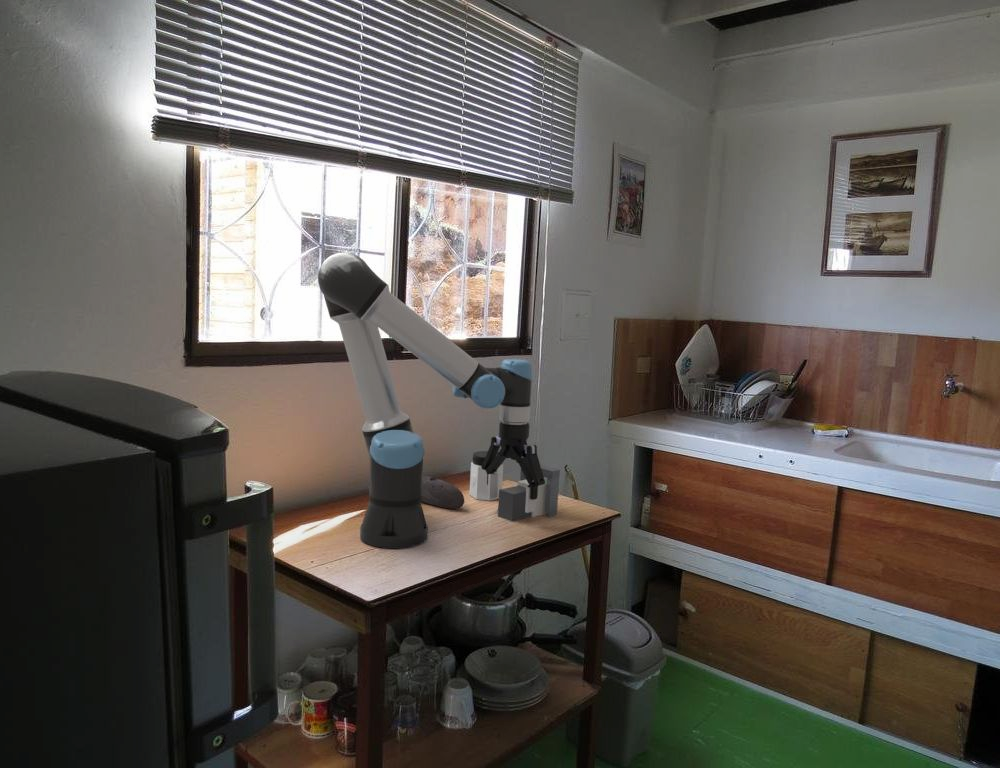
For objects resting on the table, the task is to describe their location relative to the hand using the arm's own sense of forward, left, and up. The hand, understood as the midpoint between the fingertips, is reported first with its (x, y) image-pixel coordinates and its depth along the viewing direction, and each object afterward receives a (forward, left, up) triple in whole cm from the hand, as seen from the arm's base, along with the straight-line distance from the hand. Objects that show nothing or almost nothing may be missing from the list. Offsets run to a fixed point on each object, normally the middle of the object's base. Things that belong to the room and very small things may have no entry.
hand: (510, 504), depth 179 cm
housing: (+10, 0, -3) cm, 11 cm away
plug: (+5, 0, -3) cm, 6 cm away
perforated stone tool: (-8, +18, -4) cm, 20 cm away
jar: (+8, +18, -4) cm, 20 cm away
